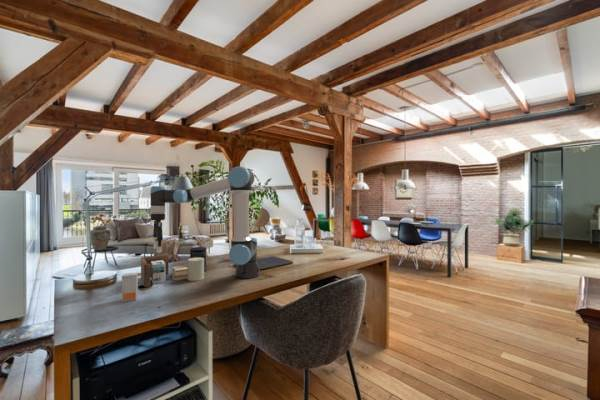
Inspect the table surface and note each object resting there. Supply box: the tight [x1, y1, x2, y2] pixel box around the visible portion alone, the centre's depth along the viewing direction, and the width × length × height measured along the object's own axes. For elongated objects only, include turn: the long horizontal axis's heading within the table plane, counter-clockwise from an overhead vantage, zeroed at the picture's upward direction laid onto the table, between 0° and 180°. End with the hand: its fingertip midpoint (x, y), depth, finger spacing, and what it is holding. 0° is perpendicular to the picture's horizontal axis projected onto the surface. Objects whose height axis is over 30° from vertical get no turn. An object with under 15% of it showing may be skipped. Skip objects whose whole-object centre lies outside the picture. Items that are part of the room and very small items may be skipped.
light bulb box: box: [150, 260, 167, 285], centre depth 161 cm, size 11×7×11 cm, turn 32°
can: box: [187, 257, 205, 282], centre depth 165 cm, size 9×9×12 cm
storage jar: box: [189, 246, 207, 273], centre depth 180 cm, size 10×10×15 cm
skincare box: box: [121, 272, 139, 303], centre depth 131 cm, size 6×4×12 cm
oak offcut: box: [171, 272, 188, 281], centre depth 168 cm, size 10×8×3 cm
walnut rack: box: [140, 254, 170, 288], centre depth 162 cm, size 22×15×12 cm
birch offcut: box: [171, 265, 188, 275], centre depth 168 cm, size 9×7×3 cm
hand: (157, 250), depth 160 cm, fingers open, 13 cm apart
